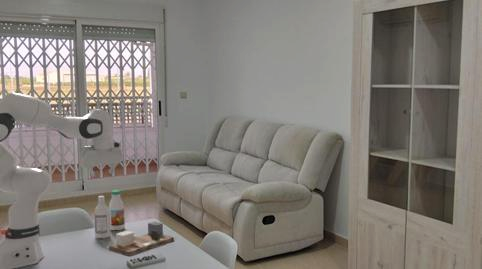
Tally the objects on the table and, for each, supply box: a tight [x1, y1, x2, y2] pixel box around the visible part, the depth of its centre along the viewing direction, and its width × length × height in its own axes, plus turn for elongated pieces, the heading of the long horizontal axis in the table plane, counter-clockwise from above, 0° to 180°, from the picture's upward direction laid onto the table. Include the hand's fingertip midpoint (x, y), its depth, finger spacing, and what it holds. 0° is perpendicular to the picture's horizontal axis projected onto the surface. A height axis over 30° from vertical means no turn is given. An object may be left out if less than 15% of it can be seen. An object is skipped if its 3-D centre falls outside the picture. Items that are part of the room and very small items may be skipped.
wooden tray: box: [108, 233, 175, 257], centre depth 212 cm, size 26×14×2 cm, turn 141°
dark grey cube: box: [147, 221, 164, 236], centre depth 222 cm, size 4×6×6 cm, turn 51°
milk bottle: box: [108, 189, 126, 231], centre depth 236 cm, size 8×8×20 cm
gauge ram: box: [115, 230, 139, 247], centre depth 208 cm, size 8×8×5 cm
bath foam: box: [93, 195, 111, 239], centre depth 224 cm, size 7×7×20 cm
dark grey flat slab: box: [151, 230, 160, 240], centre depth 214 cm, size 1×5×4 cm, turn 51°
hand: (102, 174), depth 210 cm, fingers open, 8 cm apart
